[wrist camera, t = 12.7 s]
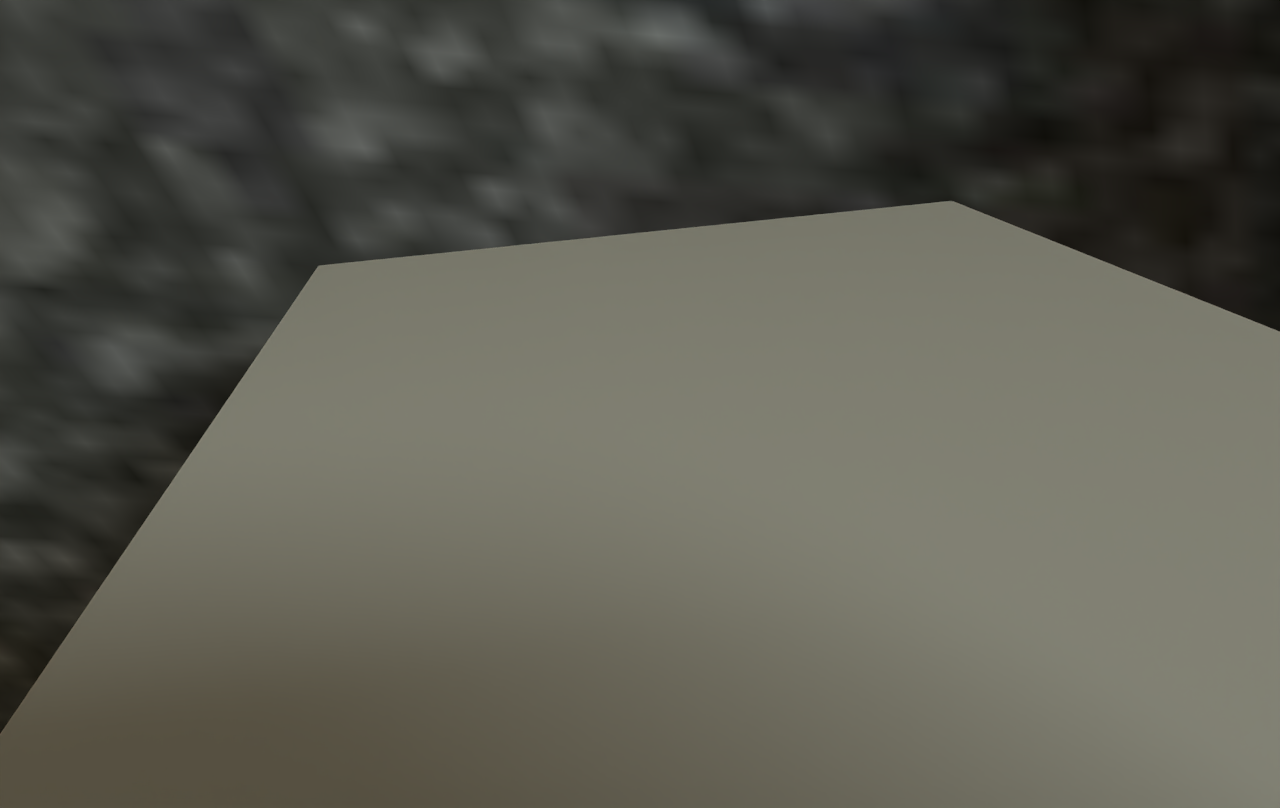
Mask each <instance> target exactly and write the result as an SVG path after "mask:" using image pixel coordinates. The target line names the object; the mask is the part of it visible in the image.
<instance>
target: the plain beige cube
mask: <svg viewBox="0 0 1280 808" xmlns="http://www.w3.org/2000/svg"><path fill="white" fill-rule="evenodd" d="M0 808H1280V332H1279V331H1276V330H1274V329H1271V328H1269V327H1266V326H1264V325H1261V324H1259V323H1256V322H1254V321H1251V320H1249V319H1246V318H1244V317H1241V316H1239V315H1236V314H1234V313H1231V312H1229V311H1226V310H1224V309H1221V308H1219V307H1216V306H1214V305H1211V304H1209V303H1206V302H1204V301H1201V300H1199V299H1196V298H1194V297H1191V296H1189V295H1186V294H1184V293H1181V292H1179V291H1176V290H1174V289H1171V288H1169V287H1166V286H1164V285H1161V284H1159V283H1156V282H1154V281H1151V280H1149V279H1146V278H1144V277H1141V276H1139V275H1136V274H1134V273H1131V272H1129V271H1126V270H1124V269H1121V268H1119V267H1116V266H1114V265H1111V264H1109V263H1106V262H1104V261H1101V260H1099V259H1096V258H1094V257H1091V256H1089V255H1086V254H1084V253H1081V252H1079V251H1076V250H1074V249H1071V248H1069V247H1066V246H1064V245H1061V244H1059V243H1056V242H1054V241H1051V240H1049V239H1046V238H1044V237H1041V236H1039V235H1036V234H1034V233H1031V232H1029V231H1026V230H1024V229H1021V228H1019V227H1016V226H1014V225H1011V224H1009V223H1006V222H1004V221H1001V220H999V219H996V218H993V217H991V216H988V215H986V214H983V213H981V212H978V211H976V210H973V209H971V208H968V207H966V206H963V205H961V204H958V203H956V202H953V201H947V202H937V203H927V204H917V205H907V206H898V207H888V208H878V209H868V210H859V211H849V212H839V213H829V214H819V215H810V216H800V217H790V218H780V219H771V220H761V221H751V222H741V223H731V224H722V225H712V226H702V227H692V228H683V229H673V230H663V231H653V232H643V233H634V234H624V235H614V236H604V237H595V238H585V239H575V240H565V241H555V242H546V243H536V244H526V245H516V246H507V247H497V248H487V249H477V250H467V251H458V252H448V253H438V254H428V255H419V256H409V257H399V258H389V259H379V260H370V261H360V262H350V263H340V264H331V265H321V266H318V267H317V269H316V270H315V272H314V273H313V275H312V276H311V278H310V279H309V281H308V282H307V283H306V285H305V286H304V288H303V289H302V291H301V292H300V294H299V295H298V297H297V298H296V300H295V301H294V303H293V304H292V306H291V307H290V308H289V310H288V311H287V313H286V314H285V316H284V317H283V319H282V320H281V322H280V323H279V325H278V326H277V328H276V329H275V331H274V332H273V333H272V335H271V336H270V338H269V339H268V341H267V342H266V344H265V345H264V347H263V348H262V350H261V351H260V353H259V354H258V356H257V357H256V358H255V360H254V361H253V363H252V364H251V366H250V367H249V369H248V370H247V372H246V373H245V375H244V376H243V378H242V379H241V381H240V382H239V383H238V385H237V386H236V388H235V389H234V391H233V392H232V394H231V395H230V397H229V398H228V400H227V401H226V403H225V404H224V406H223V407H222V408H221V410H220V411H219V413H218V414H217V416H216V417H215V419H214V420H213V422H212V423H211V425H210V426H209V428H208V429H207V431H206V432H205V433H204V435H203V436H202V438H201V439H200V441H199V442H198V444H197V445H196V447H195V448H194V450H193V451H192V453H191V454H190V456H189V457H188V458H187V460H186V461H185V463H184V464H183V466H182V467H181V469H180V470H179V472H178V473H177V475H176V476H175V478H174V479H173V481H172V482H171V483H170V485H169V486H168V488H167V489H166V491H165V492H164V494H163V495H162V497H161V498H160V500H159V501H158V503H157V504H156V506H155V507H154V508H153V510H152V511H151V513H150V514H149V516H148V517H147V519H146V520H145V522H144V523H143V525H142V526H141V528H140V529H139V531H138V532H137V533H136V535H135V536H134V538H133V539H132V541H131V542H130V544H129V545H128V547H127V548H126V550H125V551H124V553H123V554H122V556H121V557H120V558H119V560H118V561H117V563H116V564H115V566H114V567H113V569H112V570H111V572H110V573H109V575H108V576H107V578H106V579H105V581H104V582H103V583H102V585H101V586H100V588H99V589H98V591H97V592H96V594H95V595H94V597H93V598H92V600H91V601H90V603H89V604H88V606H87V607H86V608H85V610H84V611H83V613H82V614H81V616H80V617H79V619H78V620H77V622H76V623H75V625H74V626H73V628H72V629H71V631H70V632H69V633H68V635H67V636H66V638H65V639H64V641H63V642H62V644H61V645H60V647H59V648H58V650H57V651H56V653H55V654H54V656H53V657H52V659H51V660H50V661H49V663H48V664H47V666H46V667H45V669H44V670H43V672H42V673H41V675H40V676H39V678H38V679H37V681H36V682H35V684H34V685H33V686H32V688H31V689H30V691H29V692H28V694H27V695H26V697H25V698H24V700H23V701H22V703H21V704H20V706H19V707H18V709H17V710H16V711H15V713H14V714H13V716H12V717H11V719H10V720H9V722H8V723H7V725H6V726H5V728H4V729H3V731H2V732H1V734H0Z"/></svg>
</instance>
